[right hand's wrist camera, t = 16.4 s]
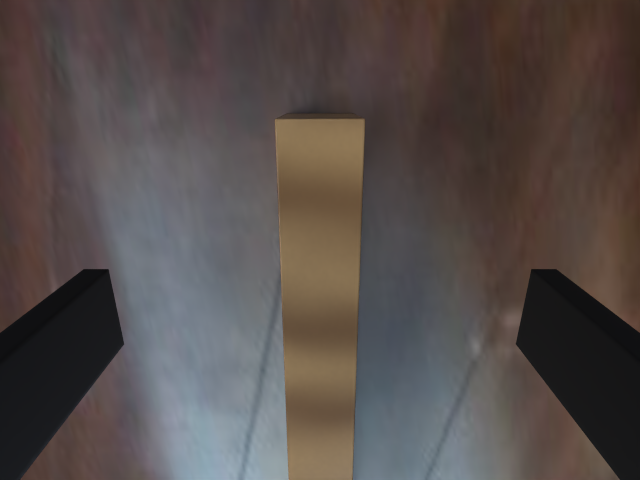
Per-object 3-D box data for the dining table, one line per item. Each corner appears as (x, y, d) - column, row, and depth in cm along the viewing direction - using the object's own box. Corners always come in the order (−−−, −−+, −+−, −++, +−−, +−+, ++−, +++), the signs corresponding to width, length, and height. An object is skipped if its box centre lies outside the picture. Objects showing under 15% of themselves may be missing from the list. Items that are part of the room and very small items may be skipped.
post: (285, 113, 28) (274, 118, 21) (354, 113, 28) (365, 118, 21) (300, 621, 48) (297, 710, 41) (340, 621, 48) (344, 710, 41)
